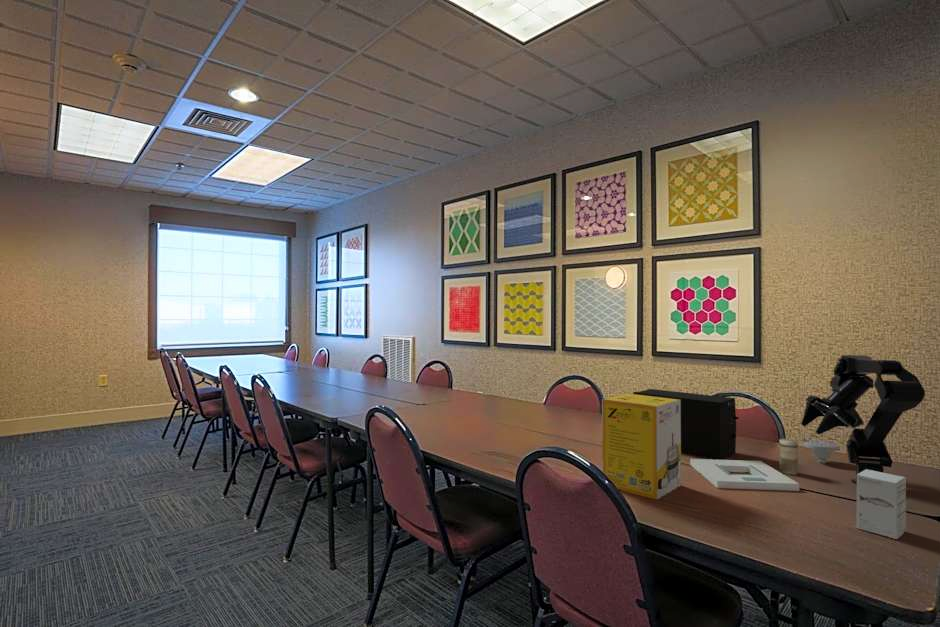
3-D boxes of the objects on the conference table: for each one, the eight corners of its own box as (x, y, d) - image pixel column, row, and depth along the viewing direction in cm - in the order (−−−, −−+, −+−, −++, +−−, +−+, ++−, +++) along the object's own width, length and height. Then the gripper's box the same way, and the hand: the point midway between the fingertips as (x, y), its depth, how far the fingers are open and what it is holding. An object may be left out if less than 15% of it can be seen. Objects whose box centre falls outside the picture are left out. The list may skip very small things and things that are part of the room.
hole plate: (799, 490, 135) (799, 483, 135) (717, 487, 137) (717, 480, 137) (760, 467, 156) (760, 460, 157) (690, 464, 159) (690, 458, 159)
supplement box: (855, 528, 110) (854, 473, 110) (866, 521, 114) (865, 468, 115) (897, 541, 104) (896, 482, 104) (907, 532, 108) (906, 476, 109)
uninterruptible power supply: (651, 437, 197) (651, 388, 197) (741, 453, 173) (740, 398, 173) (631, 444, 186) (631, 392, 186) (725, 462, 161) (724, 403, 162)
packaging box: (628, 472, 151) (628, 393, 151) (681, 485, 139) (680, 399, 139) (602, 485, 139) (601, 399, 140) (656, 500, 128) (656, 406, 128)
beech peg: (801, 475, 148) (801, 443, 148) (784, 474, 149) (784, 442, 149) (792, 470, 153) (792, 439, 153) (776, 469, 154) (775, 438, 154)
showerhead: (803, 435, 169) (838, 440, 163) (803, 456, 169) (839, 461, 163) (801, 441, 161) (839, 445, 155) (802, 462, 161) (839, 468, 155)
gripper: (890, 419, 138) (848, 457, 140) (852, 404, 156) (815, 438, 158) (857, 392, 139) (816, 430, 141) (823, 381, 157) (788, 415, 160)
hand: (809, 429), depth 150 cm, fingers open, 9 cm apart
